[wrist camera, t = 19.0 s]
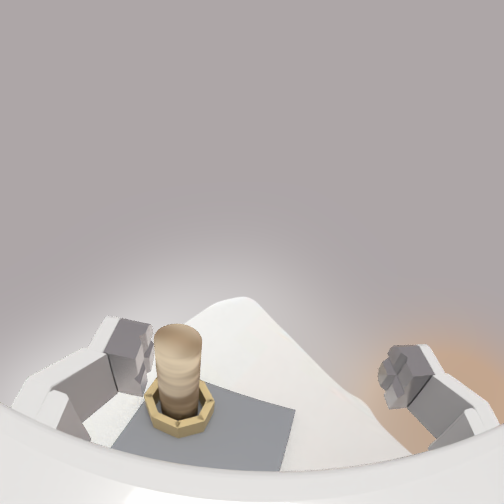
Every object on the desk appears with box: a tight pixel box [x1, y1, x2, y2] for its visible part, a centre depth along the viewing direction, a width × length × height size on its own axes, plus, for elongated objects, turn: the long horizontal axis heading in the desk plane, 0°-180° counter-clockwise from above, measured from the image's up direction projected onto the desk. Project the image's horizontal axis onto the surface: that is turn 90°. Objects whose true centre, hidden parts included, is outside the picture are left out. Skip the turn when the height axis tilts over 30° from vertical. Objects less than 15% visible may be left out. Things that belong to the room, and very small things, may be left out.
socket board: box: [111, 378, 295, 471], centre depth 32 cm, size 17×20×4 cm
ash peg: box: [154, 324, 202, 421], centre depth 32 cm, size 5×5×14 cm
